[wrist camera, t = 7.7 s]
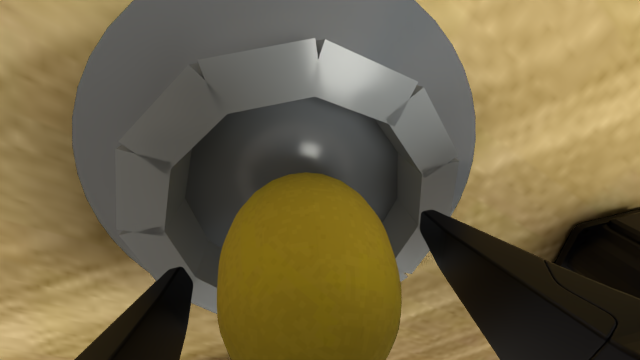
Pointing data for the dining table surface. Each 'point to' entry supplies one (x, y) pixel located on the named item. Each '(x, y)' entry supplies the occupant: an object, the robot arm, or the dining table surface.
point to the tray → (266, 120)
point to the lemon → (308, 275)
